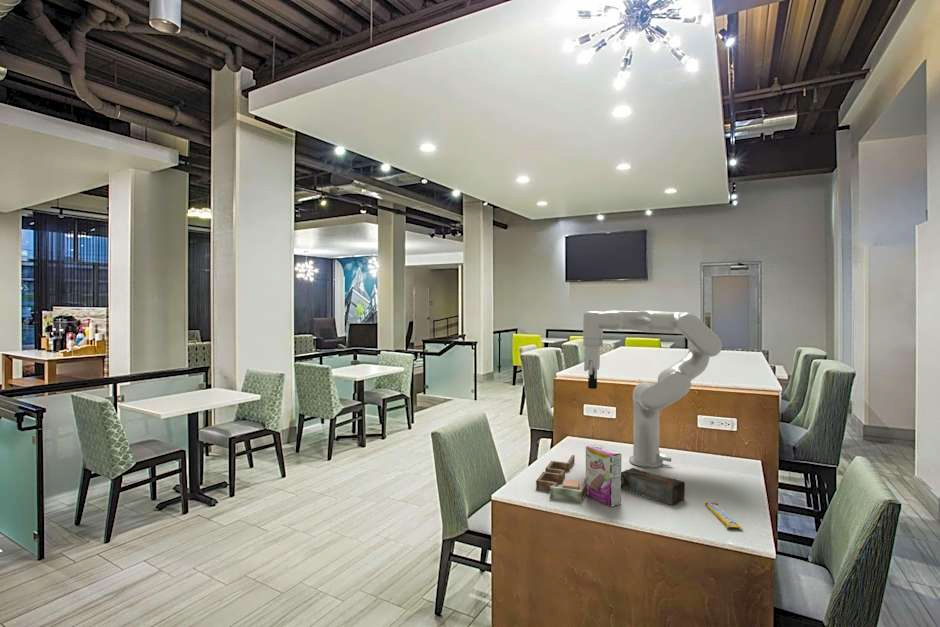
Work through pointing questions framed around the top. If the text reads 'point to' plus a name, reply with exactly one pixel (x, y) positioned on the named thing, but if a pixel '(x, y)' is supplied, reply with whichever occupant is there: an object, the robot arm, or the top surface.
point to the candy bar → (722, 515)
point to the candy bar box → (603, 474)
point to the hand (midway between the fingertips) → (592, 388)
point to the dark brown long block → (653, 486)
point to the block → (571, 484)
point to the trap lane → (559, 481)
